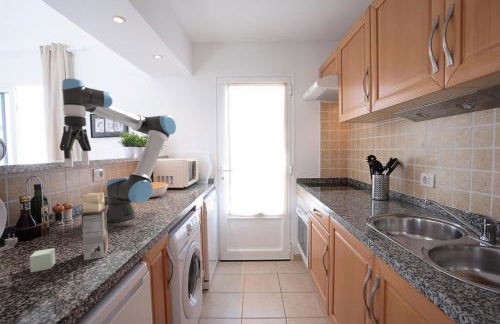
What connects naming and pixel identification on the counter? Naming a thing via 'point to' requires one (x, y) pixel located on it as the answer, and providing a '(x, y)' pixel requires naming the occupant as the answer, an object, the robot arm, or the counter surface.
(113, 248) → the counter surface
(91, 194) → the maple block
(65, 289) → the counter surface
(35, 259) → the sage block
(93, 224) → the coffee box
